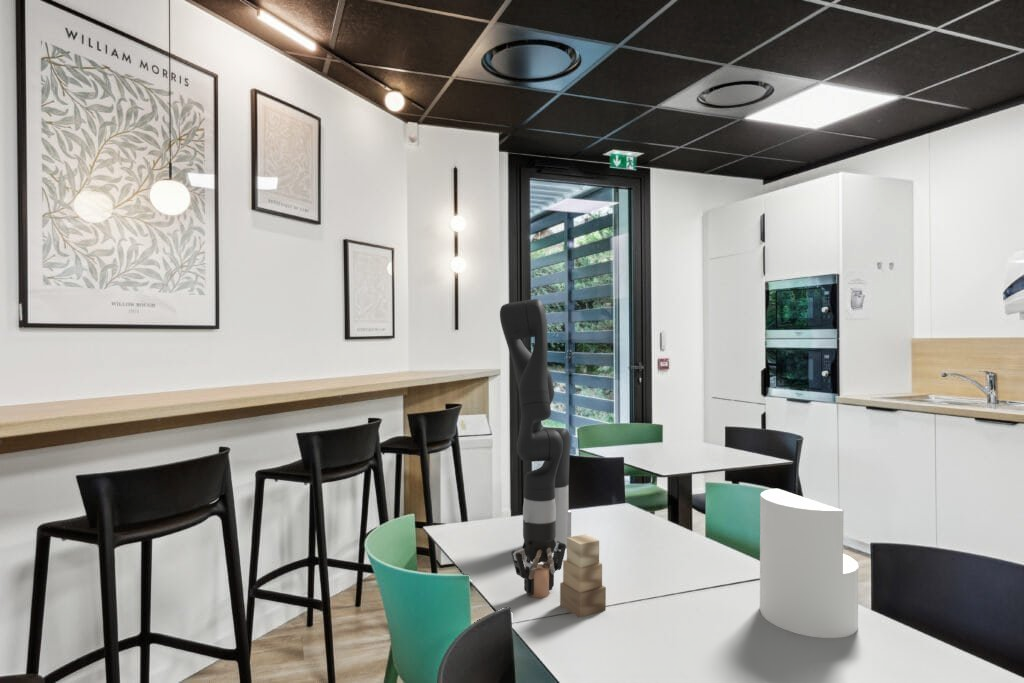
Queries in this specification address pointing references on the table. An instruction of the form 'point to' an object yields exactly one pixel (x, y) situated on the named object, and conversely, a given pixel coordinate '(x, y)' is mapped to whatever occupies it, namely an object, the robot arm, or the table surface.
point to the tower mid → (582, 576)
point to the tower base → (582, 600)
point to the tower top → (582, 550)
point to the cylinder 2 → (806, 567)
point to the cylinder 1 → (541, 581)
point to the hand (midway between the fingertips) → (539, 591)
